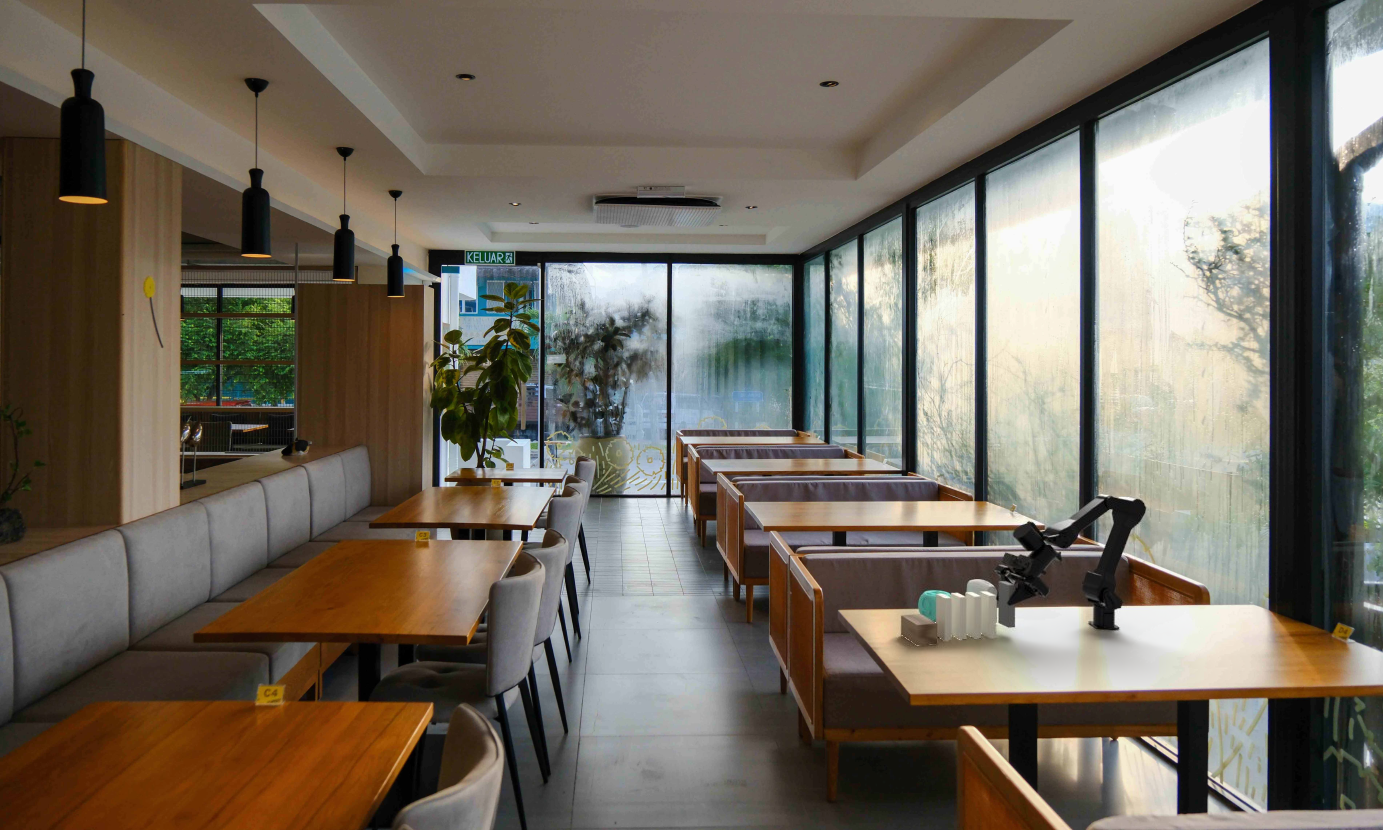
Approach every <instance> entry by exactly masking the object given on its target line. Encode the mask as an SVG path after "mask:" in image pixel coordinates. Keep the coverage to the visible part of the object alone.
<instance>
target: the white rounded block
mask: <svg viewBox="0 0 1383 830" xmlns="http://www.w3.org/2000/svg"><path fill="white" fill-rule="evenodd" d="M982 591H987V592H989V593H992V594H994V595H996V597H997V594H998V591H997V588H996V587H995V586H994V585H993V584H992V583H991V582H989V581H987V580H984V579H979V578H978V579H971V580H969V581H967V584H966V592H973V593H975V594H977V595H980V592H982ZM997 623H998V601H997V600H996V624H997Z"/></svg>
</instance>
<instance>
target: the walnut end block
mask: <svg viewBox="0 0 1383 830" xmlns="http://www.w3.org/2000/svg"><path fill="white" fill-rule="evenodd" d="M900 620H901V621H900V635H903V636H904V637H906V638H907V639H909V640H910V641H912V642H913V643H914V644H913V643H912V642H911V643H912V644H913V645H915V644H916V645H925V646H930V645H929V644H937V645H938V637H937V623H935V622H934V621H932V620H930V619H928V618H927V617H925V616H923V615H921V614H920V613H919V614H917V613H916V614H901V615H900ZM904 637H903V638H904ZM906 638H905V639H906ZM907 639H906V640H907ZM909 640H908V641H909ZM910 641H909V642H910ZM916 645H915V646H916Z"/></svg>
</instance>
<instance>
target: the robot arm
mask: <svg viewBox="0 0 1383 830" xmlns="http://www.w3.org/2000/svg"><path fill="white" fill-rule="evenodd" d="M1110 510H1111V517H1112V526H1111V529H1110V532H1109V534H1108V536H1107V540H1106V543H1105V545H1104V548H1103V551H1102V553H1101V556H1100V559H1099V561H1098V564H1097V566H1096V568H1095V569H1094V570H1093V571H1092V572H1091V571H1086V573H1085V575H1084V576H1085V577H1084V580H1083V581H1082V582H1081V585H1082V586H1081V587H1082V592H1083V595H1084V596H1085V598H1086V602H1087V603H1088V604H1092V620H1089V621H1088V624H1089V625H1091V626H1092V627H1094V628H1096V629H1098V630H1099V629H1100V630H1105V629H1106V630H1120V628H1121V627H1119V626H1118V625H1117V624H1115V623H1116V619H1115V618H1116V614H1115V613H1116V611H1117V610H1118V609H1119V610H1121V609H1122V605H1123V603H1124V601H1123V599H1121V598H1120V597H1119V595H1117V594H1116V589H1117V582H1116V576H1115V575H1116V571H1117V570H1118V566H1119V564H1120V561H1121V558H1122V556H1123V553H1124V550H1125V548H1126V545H1127V542H1128V540H1129V538H1130V536H1131V535H1130V534H1131V532H1132V530H1133V529H1134V528H1135V527H1136V526H1138V525H1139V524H1141V522H1142V519H1143V517H1144V516H1145V515H1146V512H1147V511H1146V510H1147V506H1146V505H1145V502H1144V501H1143V500H1141V499H1139V498H1135V497H1128V496H1120V497H1115V496H1112V495H1111V494H1105V493H1104V494H1103V493H1100V494H1098V495H1096V496H1095V498H1094V499H1093V500H1091V501H1090V502H1088V503H1087V504H1086V505H1085V506H1083V507H1082V508H1081V509H1080V510H1078V511H1077V512H1075V513H1074V514H1073V515H1071V516H1070V517H1069V518H1067V519H1065V520H1062V521H1059V522H1055V523H1053V524H1051V525H1049V526H1047V527H1046V528H1045V529H1044V530H1043V529H1042V530H1040V529H1039V528H1038V527H1037V524H1036V523H1034V521H1030V520H1028V521H1027V522H1026V523H1023V524H1021V525H1019V526H1018V527H1016V528H1015V529H1014V531H1013V533H1012V537H1013V538H1014V539H1015V540H1016V541H1017V543H1019V544H1020V546H1022V548H1023V549H1024V550H1025V551H1027V552H1030V553H1029V554H1028V555H1027V556H1026V555H1024V554H1019V555H1015V554H1012V553H1010V552H1004V554H1003V557H1002V559H1001V561H1000V562H1001V563H1002V564H998V565H997V566H996V567H995V568H994V569H993V570H994V572H995V573H996V574H997V575H998V576H999V577H1000V580H1001V581H1006V582H1009V583H1011V584H1014V585H1015V592H1014V593H1013V595H1012V596H1011V597H1010V599H1009V600H1008V602H1007V604H1008V605H1009V606H1011V605H1013V604H1015V605H1016V604H1018V603H1020V602H1021V603H1022V602H1023V601H1026V600H1028V599H1032V598H1034V597H1035V598H1036V597H1038V596H1040V597H1041V598H1046V597H1047V596H1048V595H1049V594H1050V587H1049V586H1048V585H1047V584H1046V582H1044V581H1043V580H1042V578H1040V576H1041V575H1042V576H1046V574H1047V572H1046V571H1045V570H1046V569H1047V568H1048V566H1050V565H1051V563H1052V562H1053V561H1058V562H1062V561H1063V557H1062V552H1061V551H1059V550H1056V549H1055V548H1059V549H1063V550H1066V549H1069V548H1071V546H1072V545H1073V544H1074V543H1075V542H1076V541H1077V540H1078V538H1079V536H1080V535H1079V534H1080V533H1081V532H1082V531H1083V530H1084V529H1086V528H1088V527H1089V526H1091V525H1092V524H1093V522H1096V520H1098V519H1099V518H1101V517H1102V516H1103V515H1104V514H1106V513H1107V512H1108V511H1110ZM1054 547H1055V548H1054ZM1004 564H1005V565H1004ZM1006 565H1008V566H1006ZM1016 584H1017V586H1016ZM1037 594H1038V595H1037ZM996 600H997V602H999V590H998V591H997V597H996Z"/></svg>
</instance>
